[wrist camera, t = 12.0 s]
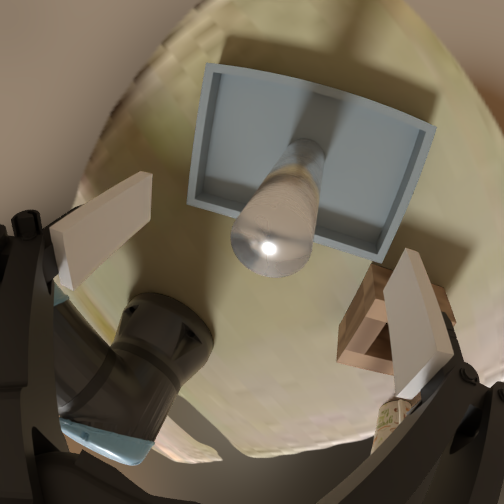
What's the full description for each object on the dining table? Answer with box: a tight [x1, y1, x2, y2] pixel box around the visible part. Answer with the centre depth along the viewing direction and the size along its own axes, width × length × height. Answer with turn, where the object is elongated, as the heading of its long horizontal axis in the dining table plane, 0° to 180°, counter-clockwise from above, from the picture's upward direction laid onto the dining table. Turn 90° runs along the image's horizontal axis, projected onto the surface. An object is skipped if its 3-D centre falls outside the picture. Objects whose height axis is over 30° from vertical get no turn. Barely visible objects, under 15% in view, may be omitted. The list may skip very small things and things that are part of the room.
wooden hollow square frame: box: [336, 264, 456, 376], centre depth 31 cm, size 10×10×6 cm
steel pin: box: [231, 138, 325, 278], centre depth 20 cm, size 4×4×16 cm
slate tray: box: [187, 63, 437, 264], centre depth 26 cm, size 20×14×3 cm
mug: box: [371, 399, 412, 454], centre depth 38 cm, size 8×13×10 cm, turn 18°
